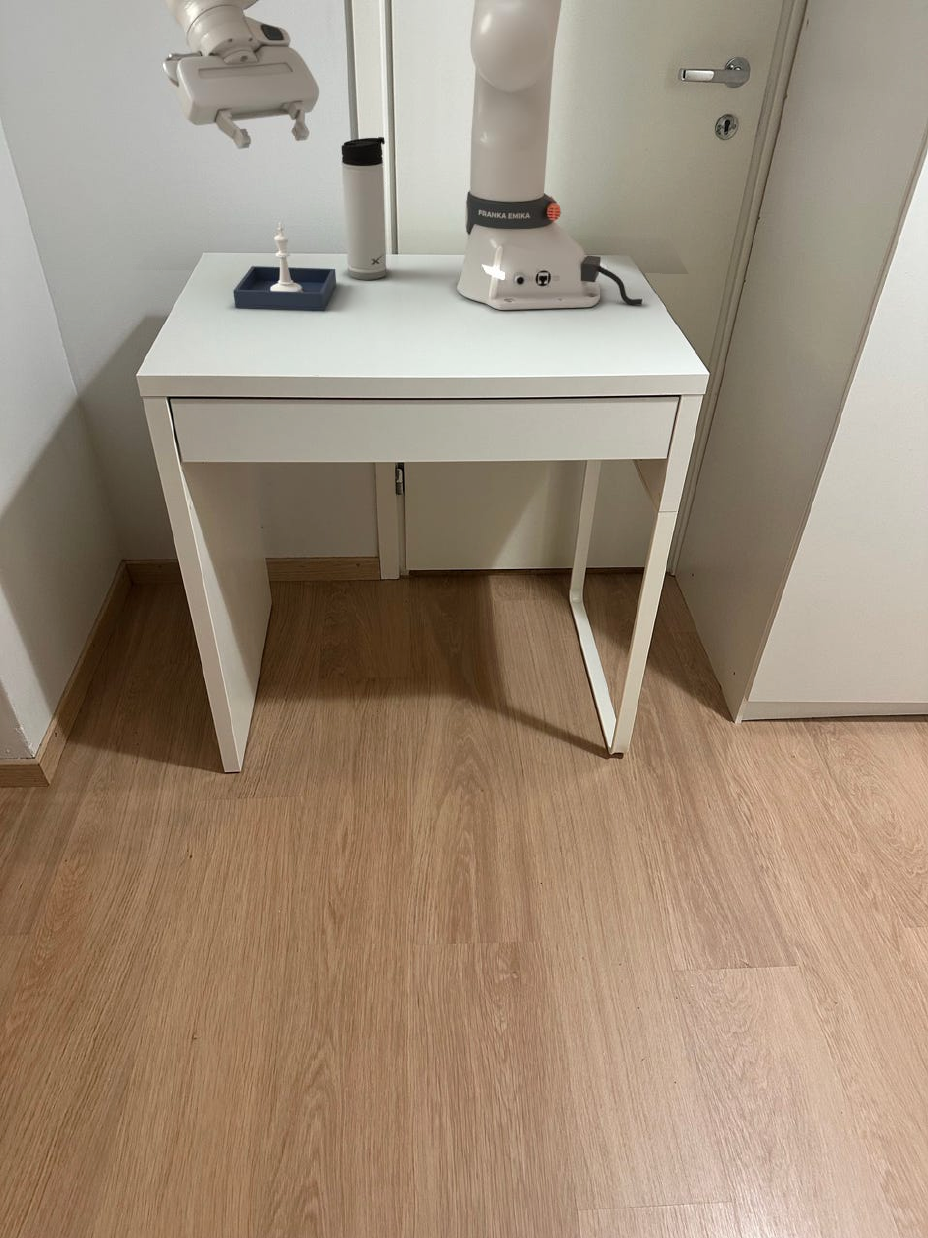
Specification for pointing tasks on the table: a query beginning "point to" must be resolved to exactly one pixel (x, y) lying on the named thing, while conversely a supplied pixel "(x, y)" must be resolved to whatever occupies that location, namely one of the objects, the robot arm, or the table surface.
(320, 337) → the table surface
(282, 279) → the chess piece
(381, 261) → the travel mug
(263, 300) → the tray
